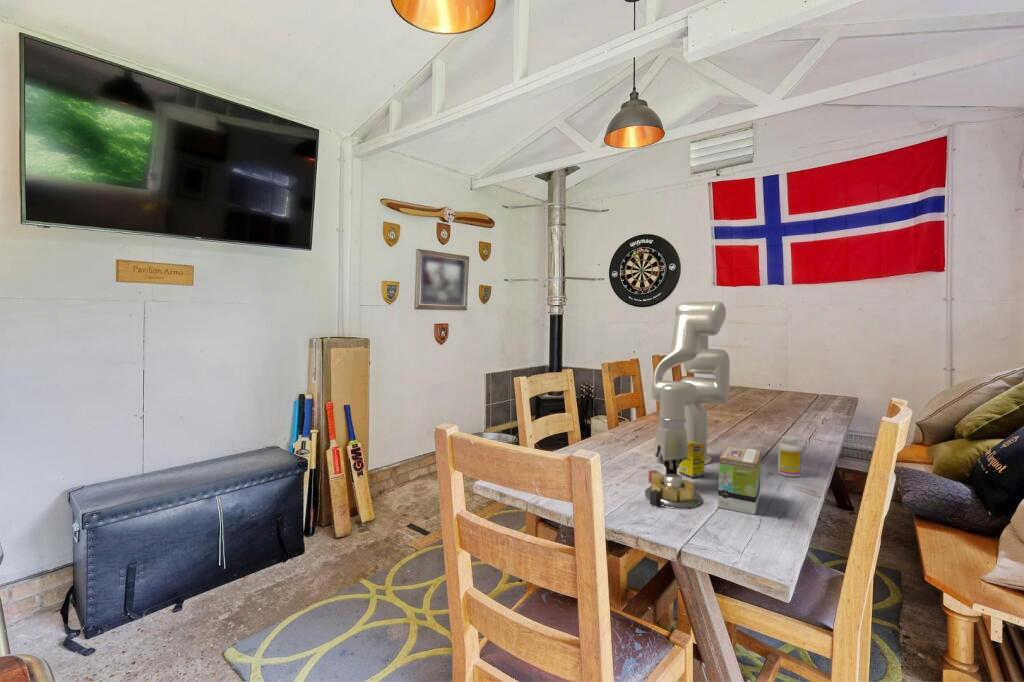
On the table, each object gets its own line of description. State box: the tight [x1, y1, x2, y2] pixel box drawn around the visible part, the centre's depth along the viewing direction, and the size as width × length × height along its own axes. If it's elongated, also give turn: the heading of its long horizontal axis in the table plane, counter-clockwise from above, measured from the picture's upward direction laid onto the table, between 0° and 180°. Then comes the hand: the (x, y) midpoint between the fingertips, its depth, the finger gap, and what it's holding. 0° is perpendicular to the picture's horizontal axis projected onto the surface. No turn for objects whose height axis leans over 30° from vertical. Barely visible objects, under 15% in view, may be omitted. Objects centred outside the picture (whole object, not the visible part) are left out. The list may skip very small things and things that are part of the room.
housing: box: [644, 473, 702, 509], centre depth 138 cm, size 16×18×6 cm
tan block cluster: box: [648, 469, 696, 502], centre depth 140 cm, size 16×12×4 cm
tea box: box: [717, 445, 762, 515], centre depth 134 cm, size 15×10×15 cm
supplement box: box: [678, 441, 706, 479], centre depth 158 cm, size 6×6×11 cm
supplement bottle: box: [777, 435, 802, 478], centre depth 158 cm, size 7×7×13 cm
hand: (671, 479), depth 147 cm, fingers closed
